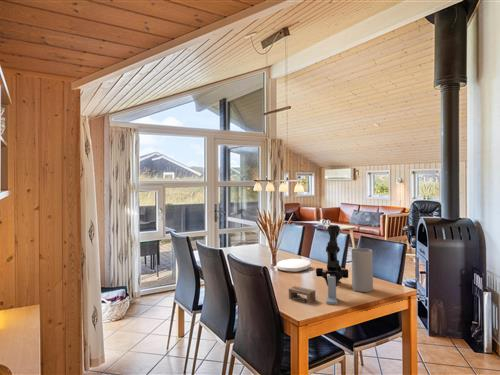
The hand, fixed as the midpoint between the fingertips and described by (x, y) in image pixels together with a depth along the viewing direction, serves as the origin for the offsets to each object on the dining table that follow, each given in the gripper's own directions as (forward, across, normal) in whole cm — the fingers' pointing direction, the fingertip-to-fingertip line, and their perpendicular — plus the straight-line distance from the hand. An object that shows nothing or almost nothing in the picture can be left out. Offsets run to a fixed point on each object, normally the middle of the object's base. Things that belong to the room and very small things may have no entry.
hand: (331, 285), depth 196 cm
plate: (-42, -33, +54) cm, 75 cm away
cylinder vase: (-10, +18, +22) cm, 30 cm away
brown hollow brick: (+7, -17, +4) cm, 19 cm away
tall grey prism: (+7, 0, +4) cm, 8 cm away
